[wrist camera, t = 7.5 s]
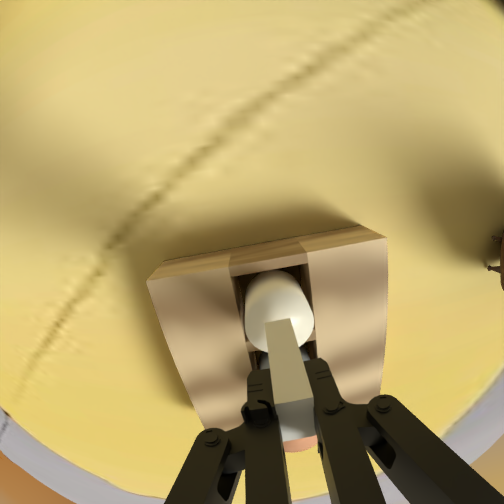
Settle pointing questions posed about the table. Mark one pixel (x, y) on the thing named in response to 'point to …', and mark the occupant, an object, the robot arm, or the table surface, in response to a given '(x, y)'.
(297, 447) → the peach egg
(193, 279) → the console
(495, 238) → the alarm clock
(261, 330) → the cream rounded piece
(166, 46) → the table surface
